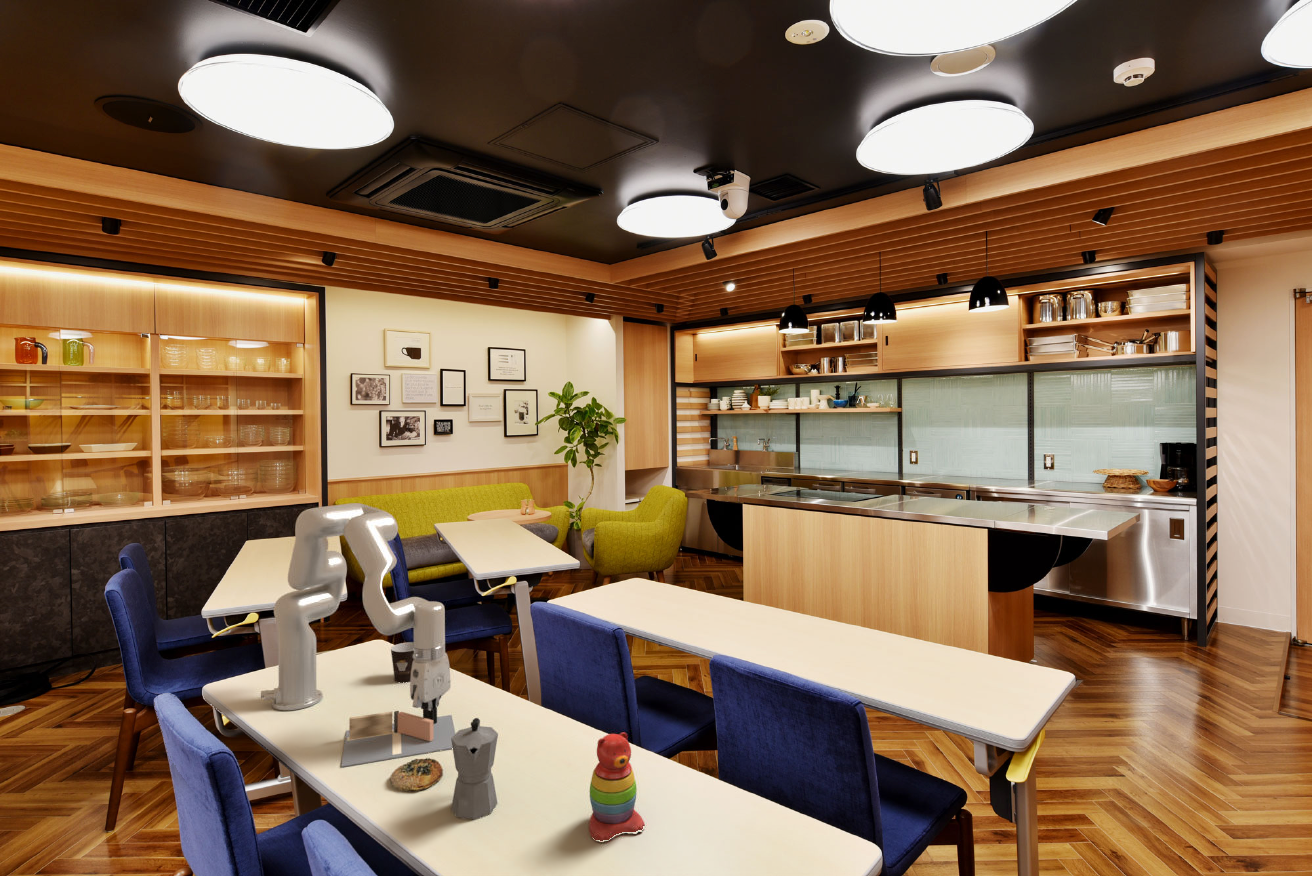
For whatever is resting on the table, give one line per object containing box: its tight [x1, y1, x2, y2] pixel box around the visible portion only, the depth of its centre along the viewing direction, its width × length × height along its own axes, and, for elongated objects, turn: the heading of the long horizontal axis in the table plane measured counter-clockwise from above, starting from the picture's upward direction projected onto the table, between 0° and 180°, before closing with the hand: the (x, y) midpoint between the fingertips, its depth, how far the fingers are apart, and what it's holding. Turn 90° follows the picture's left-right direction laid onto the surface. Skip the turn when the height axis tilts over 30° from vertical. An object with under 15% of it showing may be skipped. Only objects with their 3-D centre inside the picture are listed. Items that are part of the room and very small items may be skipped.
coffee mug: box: [390, 642, 414, 684], centre depth 205 cm, size 12×9×10 cm
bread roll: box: [390, 757, 444, 792], centre depth 148 cm, size 11×11×5 cm
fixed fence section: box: [348, 710, 400, 740], centre depth 168 cm, size 12×1×5 cm, turn 112°
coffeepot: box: [451, 717, 499, 820], centre depth 139 cm, size 15×9×18 cm, turn 13°
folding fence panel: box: [398, 711, 433, 741], centre depth 167 cm, size 11×1×5 cm, turn 64°
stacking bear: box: [588, 732, 646, 841], centre depth 132 cm, size 11×10×18 cm
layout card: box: [340, 714, 456, 768], centre depth 166 cm, size 26×19×1 cm
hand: (430, 723), depth 168 cm, fingers closed
